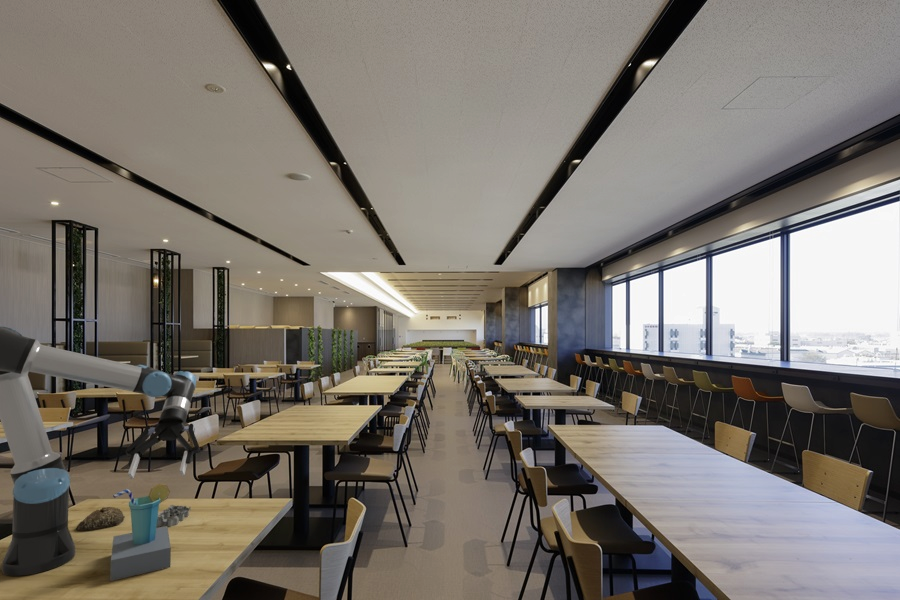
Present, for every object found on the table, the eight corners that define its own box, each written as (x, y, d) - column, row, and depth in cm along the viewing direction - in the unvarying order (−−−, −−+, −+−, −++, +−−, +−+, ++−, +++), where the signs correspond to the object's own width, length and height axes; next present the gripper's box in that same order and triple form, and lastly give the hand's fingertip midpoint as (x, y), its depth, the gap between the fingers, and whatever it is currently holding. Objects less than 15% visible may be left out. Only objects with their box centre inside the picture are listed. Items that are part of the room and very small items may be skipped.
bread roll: (120, 527, 158) (120, 511, 158) (72, 534, 153) (73, 517, 153) (128, 513, 170) (129, 498, 170) (85, 519, 165) (85, 504, 165)
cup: (120, 555, 127) (121, 495, 127) (104, 548, 131) (106, 490, 131) (174, 535, 139) (175, 480, 139) (158, 529, 143) (159, 476, 143)
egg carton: (174, 528, 157) (174, 514, 157) (151, 528, 157) (151, 514, 158) (193, 515, 168) (193, 502, 168) (171, 514, 168) (171, 502, 168)
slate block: (110, 581, 124) (110, 560, 124) (113, 554, 138) (113, 536, 138) (170, 567, 131) (170, 547, 131) (167, 543, 145) (167, 525, 145)
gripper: (218, 418, 166) (205, 478, 151) (134, 422, 161) (112, 484, 146) (214, 405, 161) (200, 464, 146) (128, 408, 156) (104, 470, 141)
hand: (156, 474), depth 146 cm, fingers open, 13 cm apart
